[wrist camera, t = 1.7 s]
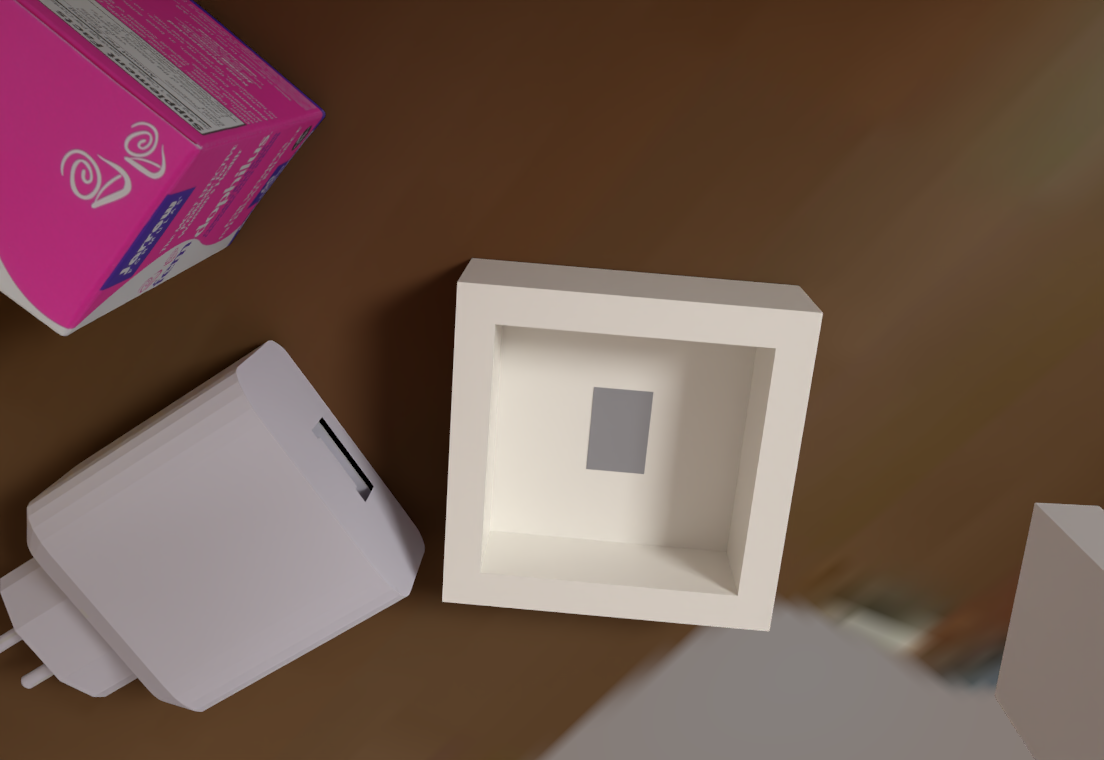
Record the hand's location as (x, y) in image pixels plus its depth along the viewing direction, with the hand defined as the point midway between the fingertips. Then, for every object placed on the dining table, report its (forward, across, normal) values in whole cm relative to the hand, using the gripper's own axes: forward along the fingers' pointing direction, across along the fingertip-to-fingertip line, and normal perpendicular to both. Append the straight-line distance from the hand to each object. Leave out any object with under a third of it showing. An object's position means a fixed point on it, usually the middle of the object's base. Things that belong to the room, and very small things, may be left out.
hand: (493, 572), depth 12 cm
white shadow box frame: (+21, +2, -6) cm, 22 cm away
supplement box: (+21, -11, +4) cm, 24 cm away
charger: (+22, -13, -11) cm, 28 cm away
